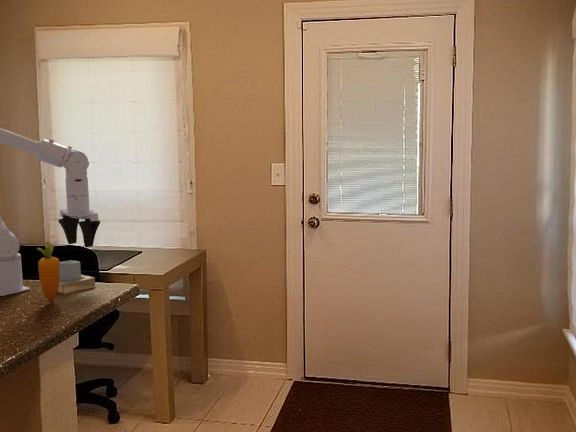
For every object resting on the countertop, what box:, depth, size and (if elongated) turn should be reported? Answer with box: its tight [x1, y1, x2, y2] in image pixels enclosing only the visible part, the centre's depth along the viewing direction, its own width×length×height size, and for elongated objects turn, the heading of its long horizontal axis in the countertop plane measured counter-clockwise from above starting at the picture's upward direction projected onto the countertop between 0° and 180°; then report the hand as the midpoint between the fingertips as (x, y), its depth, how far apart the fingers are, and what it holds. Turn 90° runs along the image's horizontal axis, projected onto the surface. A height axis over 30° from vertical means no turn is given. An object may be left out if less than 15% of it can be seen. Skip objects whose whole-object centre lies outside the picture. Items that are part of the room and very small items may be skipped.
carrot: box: [36, 241, 61, 304], centre depth 156 cm, size 5×5×15 cm
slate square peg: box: [59, 259, 82, 283], centre depth 171 cm, size 4×4×7 cm
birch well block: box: [57, 274, 96, 295], centre depth 172 cm, size 9×9×2 cm
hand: (80, 245), depth 176 cm, fingers open, 7 cm apart
